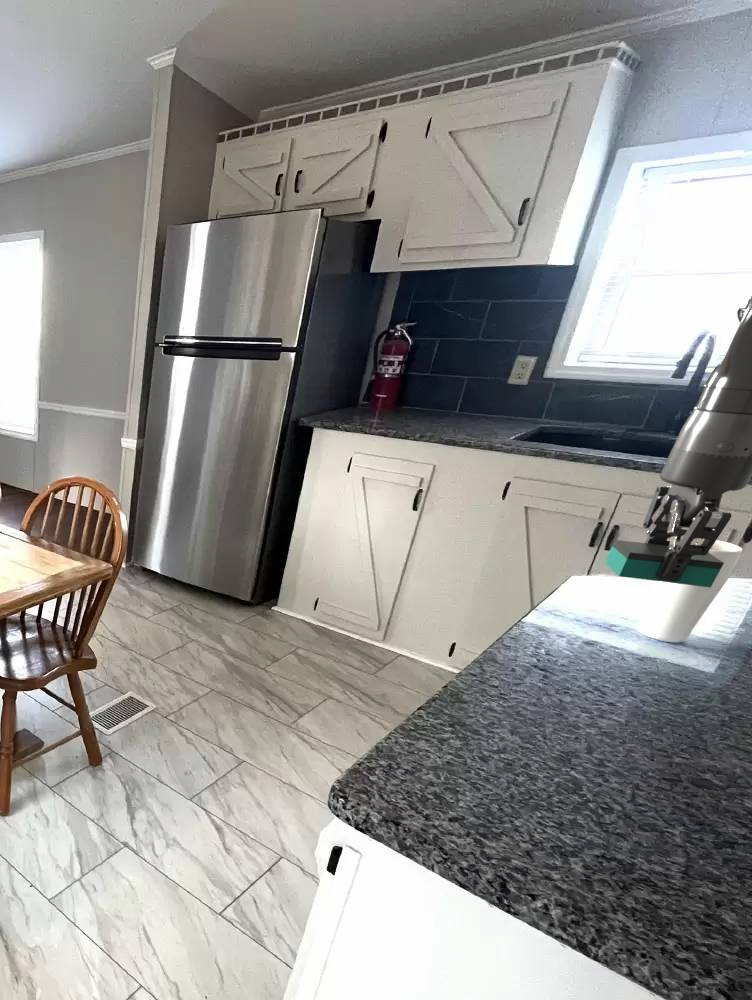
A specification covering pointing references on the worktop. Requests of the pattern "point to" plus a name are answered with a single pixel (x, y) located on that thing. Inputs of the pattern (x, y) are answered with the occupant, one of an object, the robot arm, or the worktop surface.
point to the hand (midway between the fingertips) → (656, 571)
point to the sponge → (659, 563)
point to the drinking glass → (685, 600)
